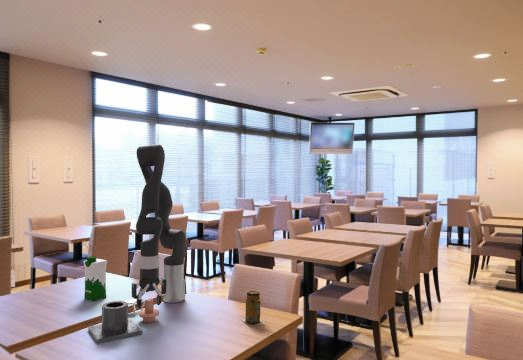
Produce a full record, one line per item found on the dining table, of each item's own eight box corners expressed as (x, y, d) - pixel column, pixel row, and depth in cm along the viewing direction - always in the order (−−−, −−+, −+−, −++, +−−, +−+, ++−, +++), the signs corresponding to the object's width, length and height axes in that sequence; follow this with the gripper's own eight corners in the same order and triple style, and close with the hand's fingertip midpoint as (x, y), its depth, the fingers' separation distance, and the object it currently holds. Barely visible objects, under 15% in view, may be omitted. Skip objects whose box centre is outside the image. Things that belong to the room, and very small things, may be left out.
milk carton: (81, 299, 199) (81, 256, 198) (97, 294, 206) (97, 253, 206) (92, 302, 194) (93, 259, 193) (109, 297, 202) (109, 255, 201)
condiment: (256, 317, 177) (257, 289, 177) (266, 324, 170) (266, 294, 169) (240, 320, 174) (241, 291, 174) (249, 327, 167) (249, 296, 166)
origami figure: (129, 318, 175) (129, 306, 175) (115, 314, 179) (115, 302, 179) (150, 309, 185) (150, 298, 185) (136, 306, 189) (136, 295, 189)
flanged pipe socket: (130, 322, 169) (130, 296, 169) (142, 334, 158) (142, 306, 158) (88, 330, 160) (88, 303, 160) (97, 343, 149) (97, 314, 149)
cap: (155, 316, 177) (155, 295, 177) (162, 321, 171) (162, 301, 171) (136, 319, 173) (136, 299, 173) (142, 325, 166) (142, 304, 166)
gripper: (162, 262, 178) (162, 301, 179) (128, 266, 170) (128, 307, 171) (169, 265, 172) (169, 305, 173) (134, 270, 164) (134, 312, 164)
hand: (149, 306), depth 172 cm, fingers open, 7 cm apart
